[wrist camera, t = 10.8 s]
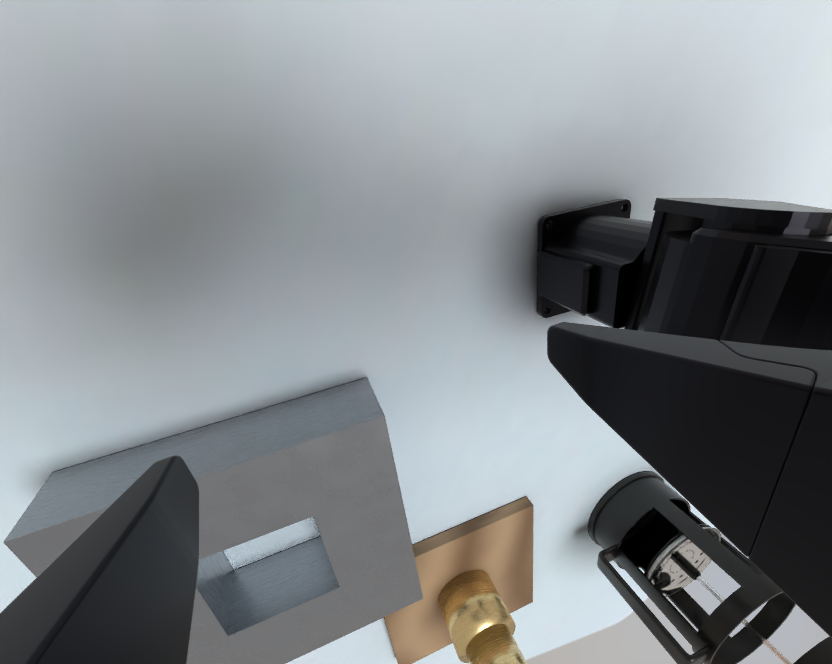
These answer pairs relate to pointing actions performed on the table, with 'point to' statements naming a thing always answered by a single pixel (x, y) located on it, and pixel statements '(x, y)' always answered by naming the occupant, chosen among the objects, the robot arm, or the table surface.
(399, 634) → the board
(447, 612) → the knob
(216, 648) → the plate
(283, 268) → the table surface
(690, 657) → the french press
